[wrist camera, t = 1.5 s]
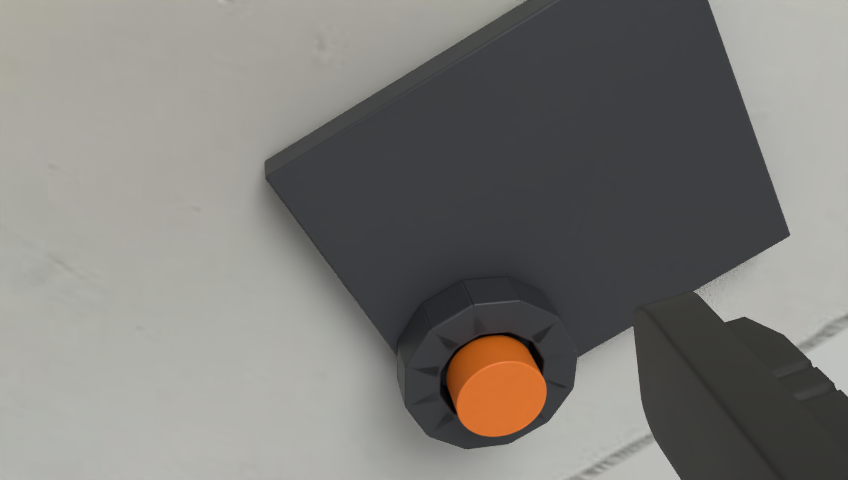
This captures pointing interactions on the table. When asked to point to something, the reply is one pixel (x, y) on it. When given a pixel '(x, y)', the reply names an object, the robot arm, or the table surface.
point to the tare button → (495, 386)
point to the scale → (536, 190)
